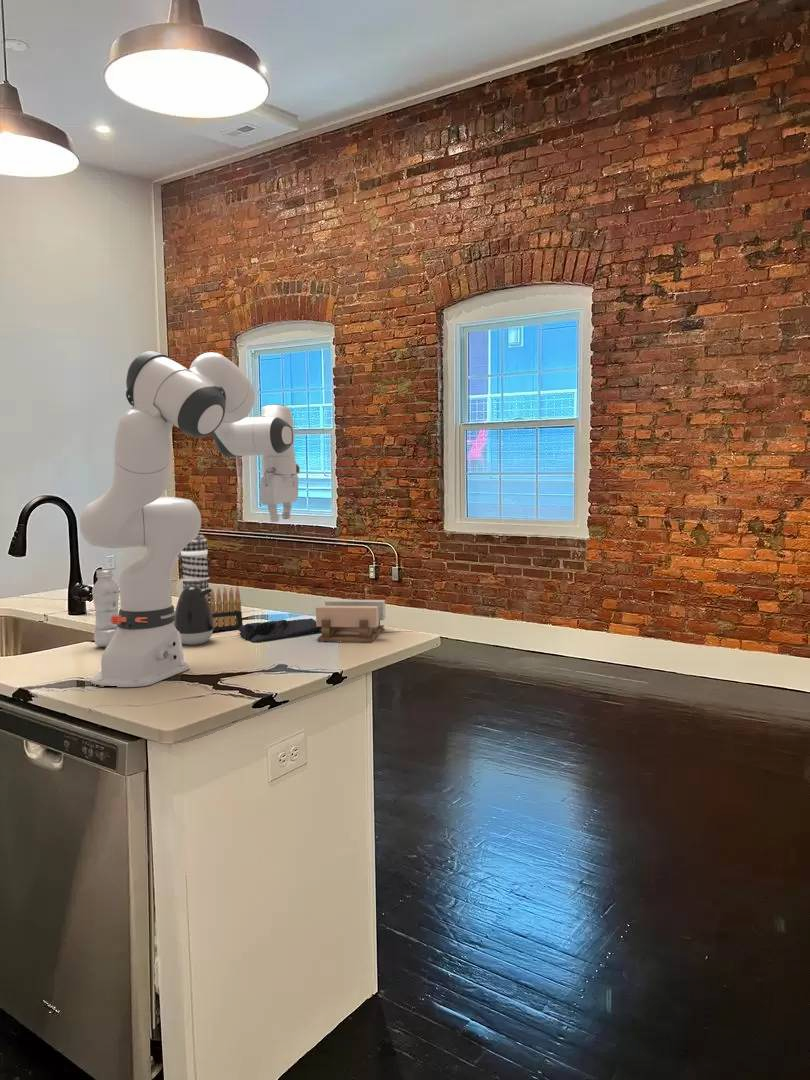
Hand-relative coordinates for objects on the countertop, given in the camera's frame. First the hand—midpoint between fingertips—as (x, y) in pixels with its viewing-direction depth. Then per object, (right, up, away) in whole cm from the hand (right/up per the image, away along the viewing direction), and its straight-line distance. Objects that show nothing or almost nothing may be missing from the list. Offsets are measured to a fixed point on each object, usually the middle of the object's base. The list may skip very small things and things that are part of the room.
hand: (280, 520), depth 210 cm
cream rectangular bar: (+19, -27, +6) cm, 33 cm away
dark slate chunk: (-1, -31, +6) cm, 32 cm away
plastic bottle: (-44, -33, -5) cm, 55 cm away
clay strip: (+18, -28, -3) cm, 33 cm away
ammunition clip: (-18, -31, +12) cm, 38 cm away
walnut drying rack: (+19, -31, +2) cm, 36 cm away
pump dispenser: (-22, -32, -3) cm, 39 cm away
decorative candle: (-31, -29, +33) cm, 53 cm away
